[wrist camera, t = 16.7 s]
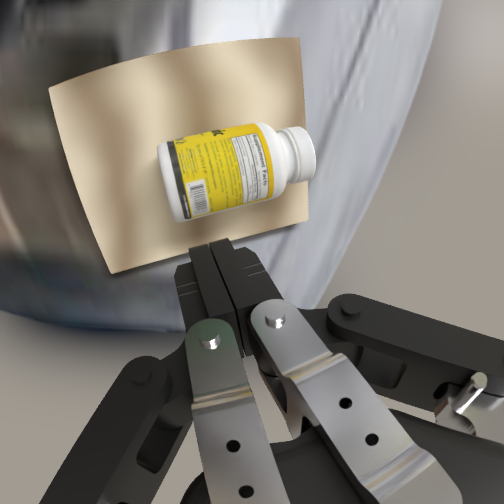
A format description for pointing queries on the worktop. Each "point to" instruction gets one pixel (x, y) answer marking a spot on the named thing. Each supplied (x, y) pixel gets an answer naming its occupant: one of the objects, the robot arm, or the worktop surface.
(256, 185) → the supplement bottle
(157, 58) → the birch board
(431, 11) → the worktop surface
